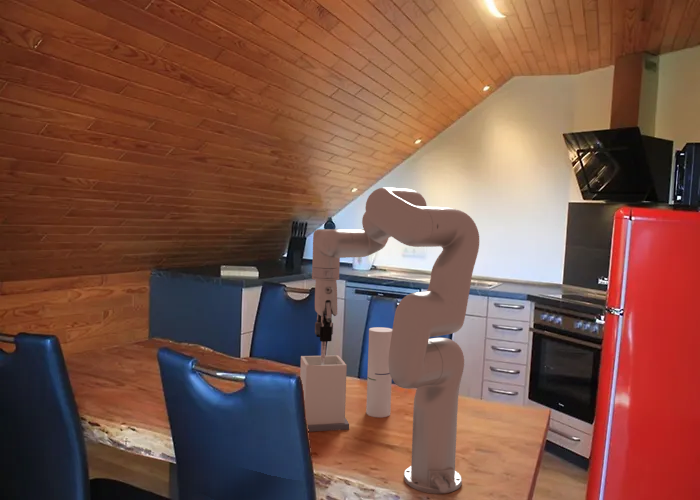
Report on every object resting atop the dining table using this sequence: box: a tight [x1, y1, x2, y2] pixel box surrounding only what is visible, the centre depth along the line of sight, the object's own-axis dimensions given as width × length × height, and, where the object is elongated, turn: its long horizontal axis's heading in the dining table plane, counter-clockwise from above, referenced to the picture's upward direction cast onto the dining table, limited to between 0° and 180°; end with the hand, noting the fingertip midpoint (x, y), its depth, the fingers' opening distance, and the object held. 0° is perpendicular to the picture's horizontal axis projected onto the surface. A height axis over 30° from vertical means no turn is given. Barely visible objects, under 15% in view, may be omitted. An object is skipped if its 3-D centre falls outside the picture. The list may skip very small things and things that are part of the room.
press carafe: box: [299, 354, 350, 432], centre depth 158 cm, size 13×13×18 cm
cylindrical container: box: [365, 326, 393, 418], centre depth 166 cm, size 7×7×25 cm
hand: (323, 338), depth 157 cm, fingers closed on plunger, 5 cm apart
